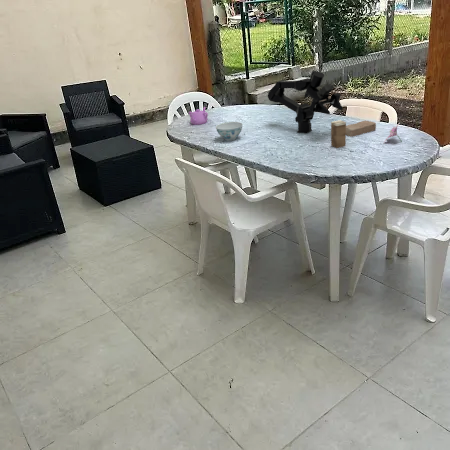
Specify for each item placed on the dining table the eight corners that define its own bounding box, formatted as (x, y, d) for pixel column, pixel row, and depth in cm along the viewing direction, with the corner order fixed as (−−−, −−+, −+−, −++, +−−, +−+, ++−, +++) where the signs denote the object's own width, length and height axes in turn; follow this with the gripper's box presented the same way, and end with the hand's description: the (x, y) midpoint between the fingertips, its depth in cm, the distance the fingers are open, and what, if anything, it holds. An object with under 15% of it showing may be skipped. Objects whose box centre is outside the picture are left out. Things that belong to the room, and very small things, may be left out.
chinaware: (230, 133, 263) (229, 120, 260) (249, 137, 253) (247, 123, 250) (212, 140, 254) (210, 127, 251) (230, 144, 244) (229, 130, 241)
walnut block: (331, 145, 224) (331, 122, 219) (339, 143, 226) (339, 120, 220) (336, 148, 220) (337, 124, 215) (345, 145, 221) (345, 122, 216)
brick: (351, 137, 233) (351, 128, 231) (341, 134, 240) (341, 125, 238) (376, 131, 239) (376, 122, 236) (365, 128, 246) (366, 119, 243)
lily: (394, 138, 227) (385, 122, 224) (414, 132, 217) (405, 116, 214) (383, 151, 222) (373, 136, 219) (403, 146, 212) (393, 130, 209)
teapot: (207, 119, 301) (205, 106, 297) (209, 124, 289) (207, 110, 285) (189, 121, 300) (187, 108, 296) (191, 126, 288) (189, 113, 284)
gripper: (307, 84, 224) (328, 102, 216) (333, 77, 232) (354, 93, 225) (301, 103, 232) (321, 120, 225) (326, 95, 241) (346, 112, 233)
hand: (336, 111), depth 227 cm, fingers open, 9 cm apart
